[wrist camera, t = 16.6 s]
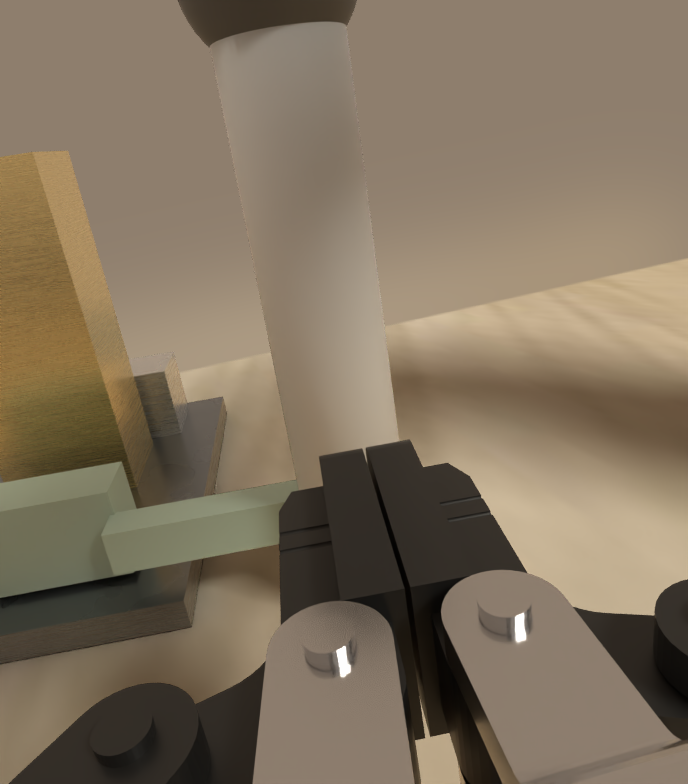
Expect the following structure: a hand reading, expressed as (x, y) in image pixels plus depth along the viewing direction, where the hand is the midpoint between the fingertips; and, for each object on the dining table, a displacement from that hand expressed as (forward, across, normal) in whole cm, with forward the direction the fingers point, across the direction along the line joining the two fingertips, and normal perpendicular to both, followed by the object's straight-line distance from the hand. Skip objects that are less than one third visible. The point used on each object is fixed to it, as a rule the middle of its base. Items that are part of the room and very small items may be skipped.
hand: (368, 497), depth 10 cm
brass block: (+17, +11, +6) cm, 21 cm away
